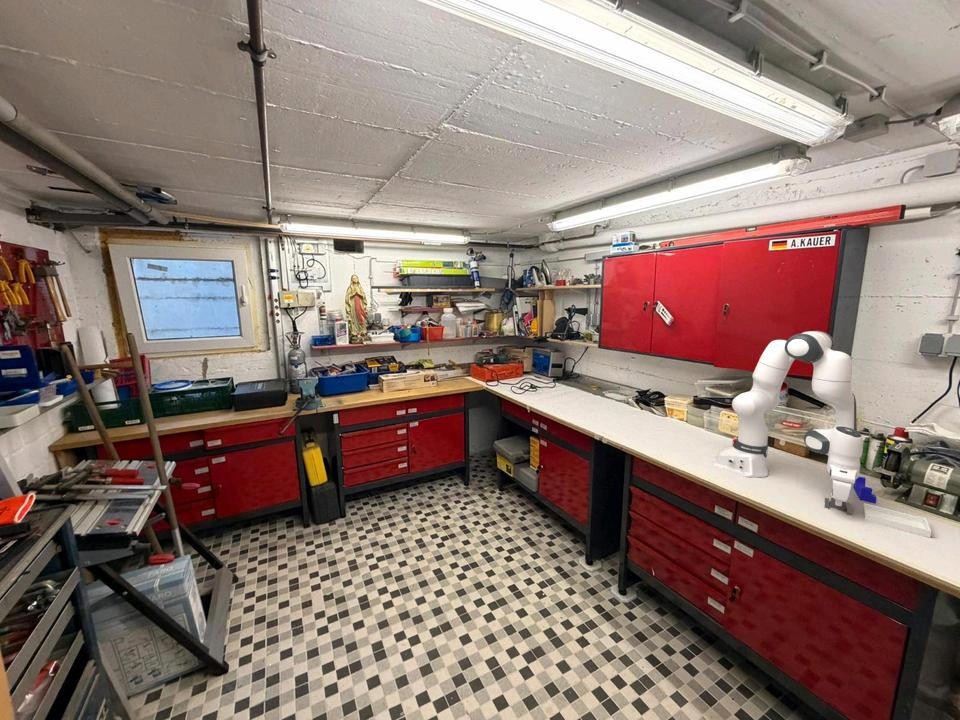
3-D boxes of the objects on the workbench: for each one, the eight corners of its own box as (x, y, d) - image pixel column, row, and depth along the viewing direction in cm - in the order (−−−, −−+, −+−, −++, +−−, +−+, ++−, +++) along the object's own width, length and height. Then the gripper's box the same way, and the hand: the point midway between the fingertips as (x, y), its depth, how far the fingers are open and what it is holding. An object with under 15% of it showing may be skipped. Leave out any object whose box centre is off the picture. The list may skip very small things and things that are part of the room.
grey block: (829, 508, 143) (832, 492, 141) (829, 504, 146) (832, 488, 145) (845, 512, 140) (847, 496, 139) (844, 508, 143) (847, 491, 142)
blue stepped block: (875, 504, 145) (877, 490, 144) (859, 501, 148) (861, 487, 147) (867, 491, 154) (869, 478, 154) (853, 488, 157) (854, 475, 156)
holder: (824, 509, 142) (824, 505, 142) (824, 500, 148) (825, 497, 148) (851, 516, 137) (851, 512, 137) (850, 507, 143) (850, 504, 143)
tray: (864, 520, 135) (865, 513, 134) (863, 508, 142) (863, 502, 141) (930, 537, 124) (931, 531, 124) (924, 524, 131) (926, 518, 131)
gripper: (831, 458, 150) (827, 489, 152) (831, 475, 135) (826, 510, 137) (853, 462, 145) (848, 494, 147) (855, 481, 131) (850, 516, 133)
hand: (838, 502), depth 142 cm, fingers closed on grey block, 4 cm apart
